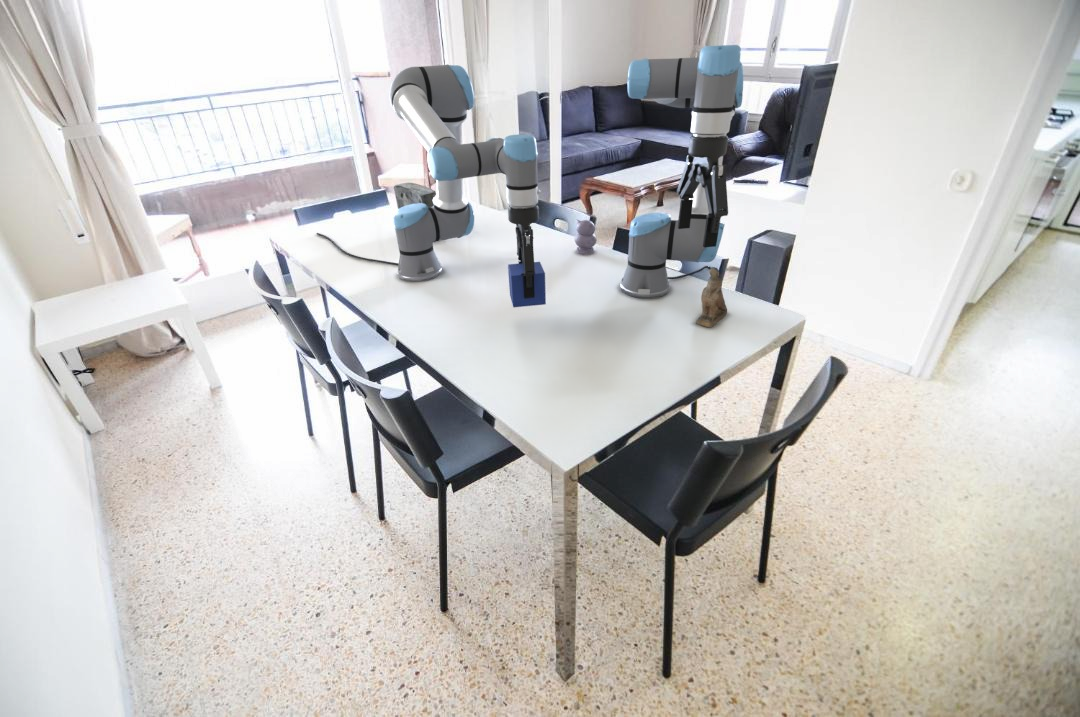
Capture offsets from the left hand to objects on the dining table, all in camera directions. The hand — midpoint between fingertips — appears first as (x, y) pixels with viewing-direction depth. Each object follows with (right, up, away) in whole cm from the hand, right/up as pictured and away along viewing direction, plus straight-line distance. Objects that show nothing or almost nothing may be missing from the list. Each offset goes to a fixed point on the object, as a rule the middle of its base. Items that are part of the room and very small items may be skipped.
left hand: (526, 290), depth 133 cm
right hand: (+39, +9, -21) cm, 45 cm away
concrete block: (-47, +35, +81) cm, 100 cm away
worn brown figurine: (+52, -7, +7) cm, 53 cm away
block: (0, -2, +1) cm, 3 cm away
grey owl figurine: (+21, +22, +57) cm, 64 cm away
